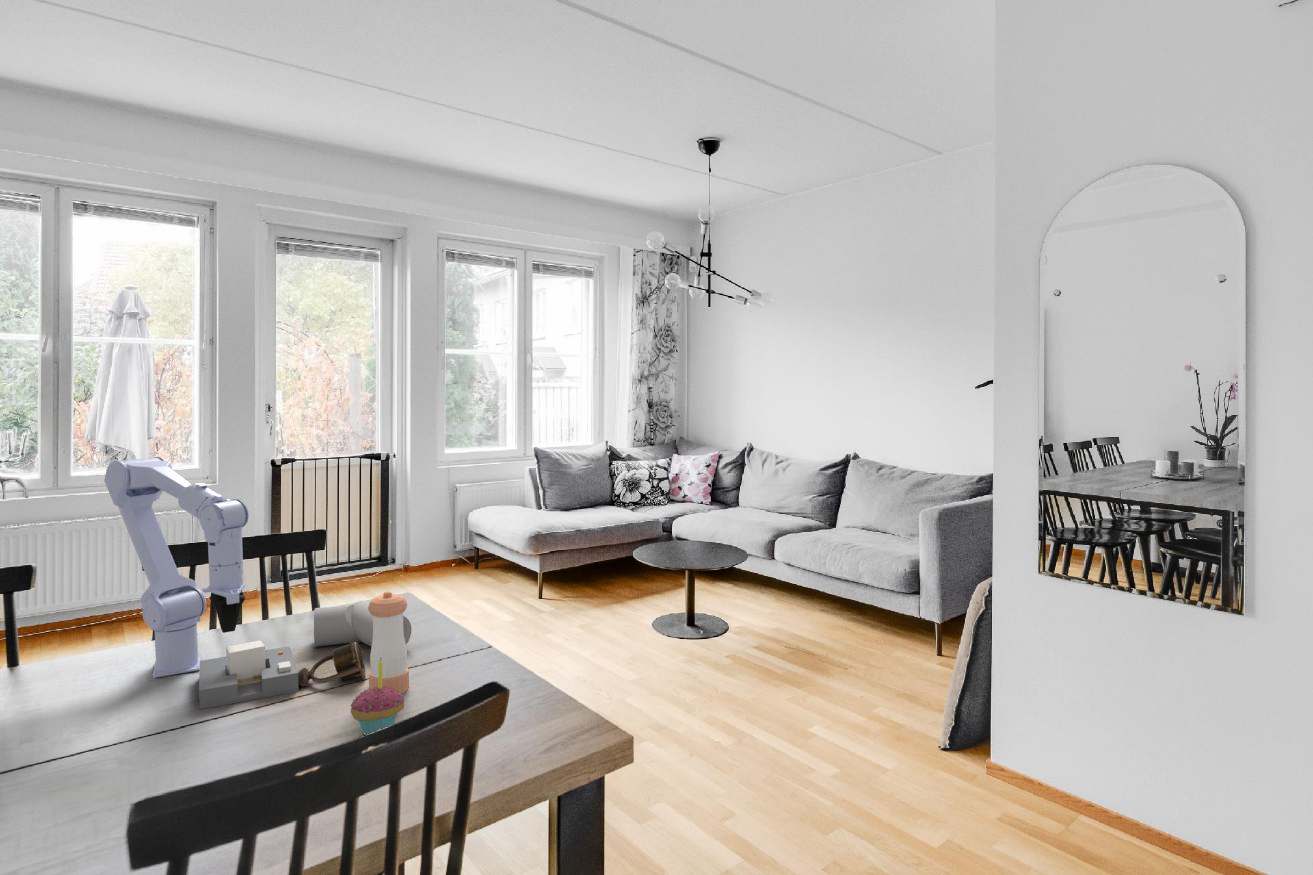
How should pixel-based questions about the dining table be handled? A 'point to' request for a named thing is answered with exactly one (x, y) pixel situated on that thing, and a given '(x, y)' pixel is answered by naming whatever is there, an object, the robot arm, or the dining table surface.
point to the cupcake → (377, 706)
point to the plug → (246, 660)
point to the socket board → (247, 680)
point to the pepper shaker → (389, 642)
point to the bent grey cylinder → (348, 625)
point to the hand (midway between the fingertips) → (228, 630)
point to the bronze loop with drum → (338, 665)
